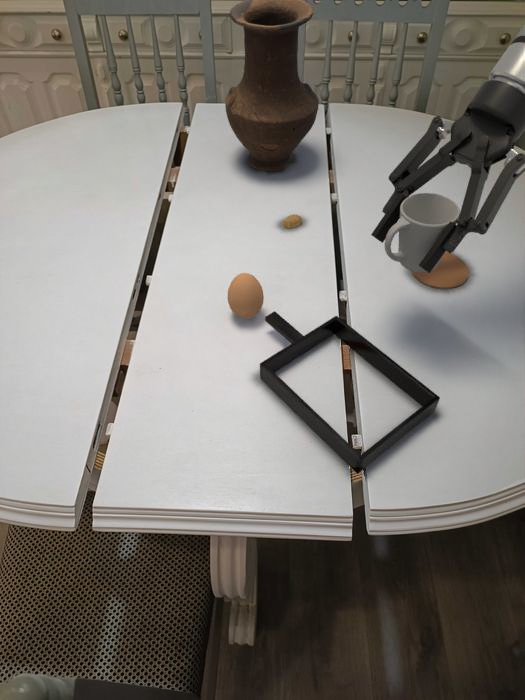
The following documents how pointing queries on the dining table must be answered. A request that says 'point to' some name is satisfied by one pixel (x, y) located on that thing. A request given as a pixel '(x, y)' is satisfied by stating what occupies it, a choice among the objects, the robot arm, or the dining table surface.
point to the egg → (245, 295)
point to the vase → (271, 83)
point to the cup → (420, 227)
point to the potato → (292, 221)
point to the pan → (371, 355)
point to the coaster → (445, 273)
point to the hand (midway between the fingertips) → (399, 253)
